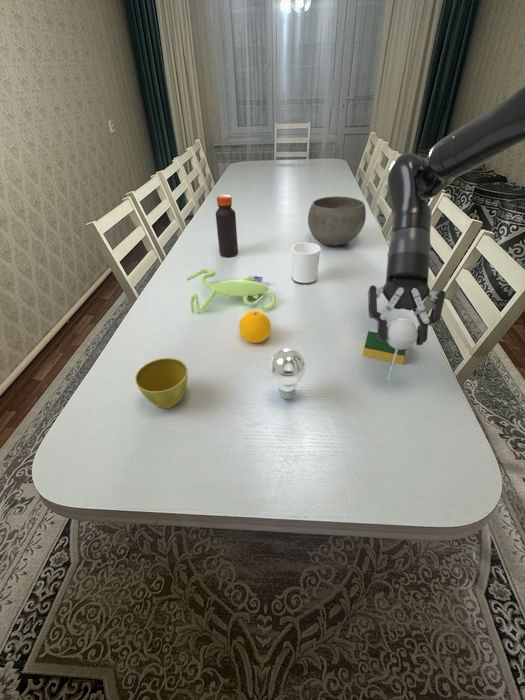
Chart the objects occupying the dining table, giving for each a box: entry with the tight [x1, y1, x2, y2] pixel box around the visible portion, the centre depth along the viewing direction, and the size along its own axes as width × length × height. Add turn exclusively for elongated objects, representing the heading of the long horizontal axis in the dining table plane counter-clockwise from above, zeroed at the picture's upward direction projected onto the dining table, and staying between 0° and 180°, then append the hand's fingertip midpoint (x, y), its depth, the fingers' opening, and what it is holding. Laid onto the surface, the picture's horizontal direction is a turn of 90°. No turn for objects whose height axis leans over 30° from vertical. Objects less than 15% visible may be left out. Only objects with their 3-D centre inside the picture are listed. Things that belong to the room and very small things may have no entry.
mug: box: [291, 242, 322, 285], centre depth 113 cm, size 11×9×10 cm
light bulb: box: [269, 348, 307, 400], centre depth 71 cm, size 7×7×12 cm
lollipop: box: [386, 318, 418, 382], centre depth 71 cm, size 6×6×15 cm
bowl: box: [307, 196, 367, 247], centre depth 134 cm, size 21×21×15 cm
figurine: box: [186, 268, 277, 315], centre depth 106 cm, size 18×27×6 cm
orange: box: [238, 310, 272, 344], centre depth 88 cm, size 8×8×8 cm
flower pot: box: [134, 357, 189, 409], centre depth 72 cm, size 10×10×7 cm
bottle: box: [215, 194, 239, 258], centre depth 126 cm, size 7×7×20 cm
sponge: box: [362, 330, 407, 365], centre depth 84 cm, size 9×6×3 cm, turn 69°
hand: (401, 342), depth 68 cm, fingers closed on lollipop, 6 cm apart
